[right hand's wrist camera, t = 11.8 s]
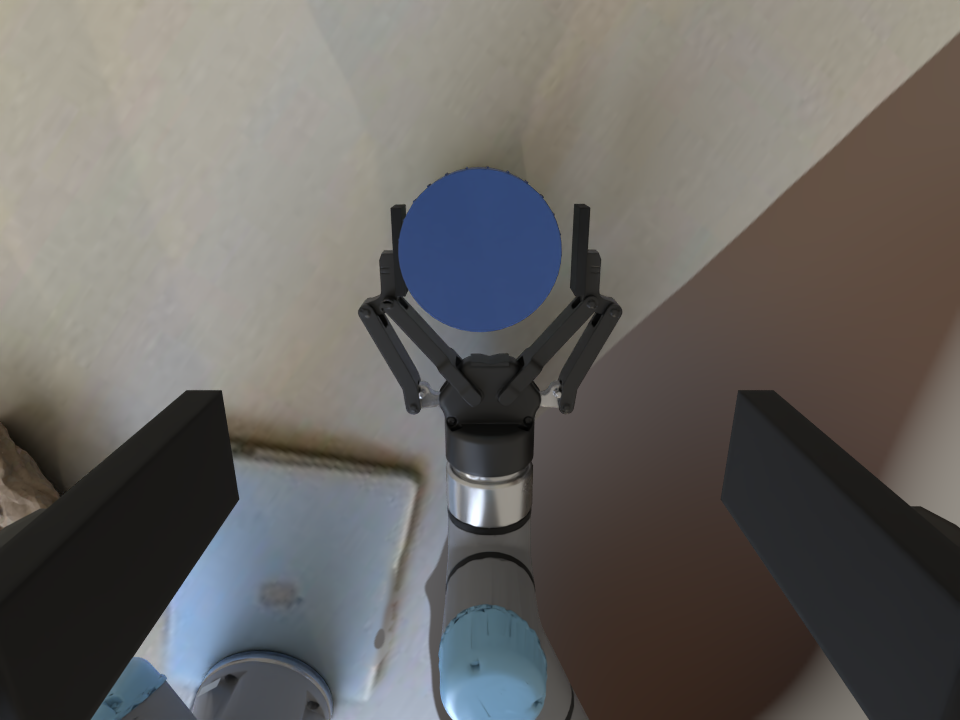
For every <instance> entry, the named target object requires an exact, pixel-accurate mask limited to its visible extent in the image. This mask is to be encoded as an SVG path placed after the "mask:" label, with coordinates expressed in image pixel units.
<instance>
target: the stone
mask: <svg viewBox="0 0 960 720" xmlns="http://www.w3.org/2000/svg"><path fill="white" fill-rule="evenodd" d="M59 498H60V496H59V493H58V492H57V491H56V490H55V489H54V487H53V485H52V483H50V482H49V481H48V480H47V479H46V478H45V476H44V475H43V474H42V473H41V471H40V469H39V467H38V465H37V464H36V462H35V461H34V460H33V458H32V457H31V456H30V455H29V454H28V452H26V451H24V450H23V449H21V448H20V447H18V446H17V445H15V443H14V442H13V441H12V440H11V438H10V437H9V434H8V430H7V429H6V427H5V426H4V425H3V424H2V423H1V422H0V531H1V530H2V529H3V528H4V527H6V526H8V525H10V524H12V523H14V522H15V521H17V520H19V519H21V518H23V517H25V516H27V515H29V514H31V513H32V512H34V511H36V510H38V509H47V508H48V507H49V506H51V505H52V504H53V503H54V502H55V501H56V500H58V499H59Z"/></svg>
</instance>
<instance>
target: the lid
mask: <svg viewBox="0 0 960 720" xmlns="http://www.w3.org/2000/svg"><path fill="white" fill-rule="evenodd" d="M427 187H428V188H427V189H426V190H425V191H423V192H422V193H421V194H420V195H419V197H418V198H417V199H415V200H414V201H413V204H412V206H411V208H410V209H409V211H408V213H407V215H406V217H405V218H404V219H403V221H404V222H403V225H402V228H401V232H400V237H399V240H398V241H399V263H400V268H401V272H402V276H403V279H404V281H405V283H406V286H407V288H408V289H409V291H410V293H411V295H412V296H413V297H414V299H415V300H416V301H417V303H418V304H419V305H420V306H421V307H422V308H423V309H424V310H425V311H426V312H427V313H428V314H430V315H431V316H432V317H434V318H435V319H437V320H439V321H440V322H442V323H444V324H446V325H448V326H451V327H454V328H457V329H460V330H465V331H471V332H488V331H495V330H500V329H503V328H506V327H509V326H512V325H514V324H516V323H518V322H520V321H522V320H523V319H525V318H526V317H528V316H529V315H530V314H532V313H533V312H534V311H535V310H536V309H537V308H538V307H539V306H540V305H541V304H542V303H543V302H544V300H545V299H546V297H547V296H548V295H549V293H550V291H551V289H552V288H553V286H554V284H555V281H556V278H557V276H558V273H559V268H560V264H561V256H562V249H561V238H560V235H561V234H560V232H559V228H558V225H557V222H556V219H555V217H554V215H555V214H554V213H553V212H552V211H551V209H550V208H549V206H548V205H547V203H546V201H545V200H544V199H543V198H544V197H543V196H542V195H541V194H539V193H538V192H537V191H535V190H534V189H533V188H532V187H531V186H530V185H529V184H528V182H527V181H526V180H525V181H523V180H522V179H520V178H519V177H517V176H515V175H513V174H511V173H510V172H509V171H506V172H505V171H502V170H499V169H494V168H489V167H488V166H487V168H486V167H474V168H468V167H466V168H465V169H462V170H457V171H455V172H452V173H450V174H448V173H446V174H445V176H443V177H442V178H440V179H438V180H437V181H435V182H434V183H433V184H429V185H428V186H427Z"/></svg>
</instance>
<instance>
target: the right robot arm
mask: <svg viewBox="0 0 960 720" xmlns="http://www.w3.org/2000/svg"><path fill="white" fill-rule="evenodd" d="M238 500H239V495H238V488H237V482H236V476H235V470H234V464H233V457H232V451H231V445H230V439H229V432H228V426H227V420H226V414H225V408H224V401H223V395H222V390H186V391H185V392H184V393H183V394H182V395H180V396H179V397H178V398H177V399H176V400H175V401H173V402H172V403H171V404H170V405H169V406H167V407H166V408H165V409H164V410H163V411H162V412H160V413H159V414H158V415H157V416H156V417H154V418H153V419H152V420H151V421H150V422H149V423H147V424H146V425H145V426H144V427H143V428H141V429H140V430H139V431H138V432H137V433H136V434H134V435H133V436H132V437H131V438H130V439H128V440H127V441H126V442H125V443H124V444H123V445H121V446H120V447H119V448H118V449H117V450H115V451H114V452H113V453H112V454H111V455H110V456H108V457H107V458H106V459H105V460H104V461H103V462H101V463H100V464H99V465H98V466H97V467H95V468H94V469H93V470H92V471H91V472H90V473H88V474H87V475H86V476H85V477H84V478H82V479H81V480H80V481H79V482H78V483H77V484H75V485H74V486H73V487H72V488H71V489H69V490H68V491H67V492H66V493H65V494H64V495H62V496H61V497H60V498H59V499H58V500H56V501H55V502H54V503H53V504H52V505H51V506H49V507H48V508H47V509H38V510H36V511H34V512H32V513H31V514H29V515H27V516H25V517H23V518H21V519H19V520H17V521H15V522H14V523H12V524H10V525H8V526H6V527H4V528H3V529H2V530H1V531H0V720H91V719H92V717H93V716H94V714H95V713H96V711H97V710H98V708H99V707H100V705H101V704H102V702H103V701H104V699H105V698H106V696H107V695H108V693H109V692H110V690H111V689H112V687H113V686H114V685H115V683H116V682H117V680H118V679H119V677H120V676H121V674H122V673H123V671H124V670H125V668H126V667H127V665H128V664H129V662H130V661H131V659H132V658H133V656H134V655H135V653H136V652H137V650H138V649H139V647H140V646H141V644H142V643H143V641H144V640H145V639H146V637H147V636H148V634H149V633H150V631H151V630H152V628H153V627H154V625H155V624H156V622H157V621H158V619H159V618H160V616H161V615H162V613H163V612H164V610H165V609H166V607H167V606H168V604H169V603H170V601H171V600H172V598H173V597H174V595H175V594H176V592H177V591H178V590H179V588H180V587H181V585H182V584H183V582H184V581H185V579H186V578H187V576H188V575H189V573H190V572H191V570H192V569H193V567H194V566H195V564H196V563H197V561H198V560H199V558H200V557H201V555H202V554H203V552H204V551H205V549H206V548H207V546H208V545H209V544H210V542H211V541H212V539H213V538H214V536H215V535H216V533H217V532H218V530H219V529H220V527H221V526H222V524H223V523H224V521H225V520H226V518H227V517H228V515H229V514H230V512H231V511H232V509H233V508H234V506H235V505H236V503H237V502H238ZM721 500H722V502H723V503H724V505H725V506H726V508H727V509H728V511H729V512H730V514H731V515H732V517H733V518H734V520H735V521H736V523H737V524H738V526H739V527H740V529H741V530H742V532H743V533H744V535H745V536H746V537H747V539H748V540H749V542H750V544H751V545H752V546H753V548H754V549H755V551H756V552H757V554H758V555H759V557H760V558H761V560H762V561H763V563H764V564H765V566H766V567H767V569H768V570H769V572H770V573H771V575H772V576H773V578H774V579H775V581H776V582H777V583H778V585H779V586H780V588H781V590H782V591H783V592H784V594H785V595H786V597H787V598H788V600H789V601H790V603H791V604H792V606H793V607H794V609H795V610H796V612H797V613H798V615H799V616H800V618H801V619H802V621H803V622H804V624H805V625H806V627H807V628H808V630H809V631H810V633H811V634H812V636H813V637H814V638H815V640H816V641H817V643H818V644H819V646H820V647H821V649H822V650H823V652H824V653H825V655H826V656H827V658H828V659H829V661H830V662H831V664H832V665H833V667H834V668H835V670H836V671H837V673H838V674H839V676H840V677H841V679H842V680H843V682H844V683H845V685H846V686H847V687H848V689H849V690H850V692H851V693H852V695H853V696H854V698H855V699H856V701H857V702H858V704H859V705H860V707H861V708H862V710H863V711H864V713H865V714H866V716H867V717H868V719H869V720H960V528H959V527H958V526H957V525H955V524H953V523H951V522H949V521H947V520H946V519H944V518H942V517H940V516H938V515H936V514H934V513H932V512H930V511H928V510H926V509H925V508H923V507H920V506H909V505H908V504H907V503H906V502H905V501H904V500H902V499H901V498H900V497H899V496H898V495H896V494H895V493H894V492H893V491H892V490H891V489H889V488H888V487H887V486H886V485H885V484H883V483H882V482H881V481H880V480H879V479H878V478H876V477H875V476H874V475H873V474H872V473H870V472H869V471H868V470H867V469H866V468H865V467H863V466H862V465H861V464H860V463H859V462H857V461H856V460H855V459H854V458H853V457H852V456H850V455H849V454H848V453H847V452H846V451H845V450H843V449H842V448H841V447H840V446H839V445H837V444H836V443H835V442H834V441H833V440H831V439H830V438H829V437H828V436H827V435H826V434H824V433H823V432H822V431H821V430H820V429H819V428H817V427H816V426H815V425H814V424H813V423H811V422H810V421H809V420H808V419H807V418H805V417H804V416H803V415H802V414H801V413H800V412H798V411H797V410H796V409H795V408H794V407H793V406H791V405H790V404H789V403H788V402H787V401H785V400H784V399H783V398H782V397H781V396H779V395H778V394H777V393H776V392H775V391H773V390H739V391H738V395H737V401H736V408H735V414H734V420H733V426H732V432H731V439H730V445H729V451H728V457H727V464H726V470H725V476H724V482H723V488H722V495H721Z"/></svg>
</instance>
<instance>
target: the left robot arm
mask: <svg viewBox="0 0 960 720" xmlns="http://www.w3.org/2000/svg"><path fill="white" fill-rule="evenodd" d="M405 217H406V205H394V206H393V207H392V208H391V224H392V243H393V250H384V252H383V253H382V254H381V257H380V260H379V262H380V279H381V294H380V295H378V296H376V297H373V298H367V299H366V300H365V301H364V303H363V304H362V305H361V307H360V308H359V310H358V314H359V317H360V318H361V320H362V322H363V323H364V325H365V327H366V329H367V330H368V332H369V334H370V335H371V337H372V339H373V340H374V342H375V344H376V345H377V347H378V349H379V350H380V352H381V354H382V356H383V357H384V359H385V361H386V362H387V364H388V366H389V367H390V369H391V371H392V372H393V374H394V376H395V377H396V379H397V381H398V382H399V384H400V386H401V388H402V389H403V394H404V399H405V405H406V409H407V411H408V412H409V413H410V414H417V413H419V412H420V410H421V408H428V407H438V406H440V407H441V409H442V410H443V412H444V415H445V440H446V458H447V460H448V462H447V466H446V481H447V504H448V564H447V577H446V600H445V609H444V618H443V628H442V637H441V642H440V646H439V647H440V649H439V655H438V656H439V659H440V661H439V671H440V693H441V699H442V702H443V705H444V707H445V709H446V711H447V713H448V714H449V716H450V717H451V718H452V719H453V720H589V719H588V717H587V715H586V713H585V711H584V709H583V708H582V706H581V704H580V702H579V700H578V698H577V696H576V694H575V692H574V690H573V688H572V687H571V685H570V683H569V680H568V678H567V676H566V674H565V672H564V670H563V668H562V666H561V664H560V662H559V660H558V658H557V656H556V654H555V652H554V650H553V648H552V646H551V644H550V642H549V640H548V638H547V636H546V634H545V632H544V630H543V628H542V625H541V623H540V619H539V615H538V609H537V602H536V596H535V585H534V577H533V569H532V561H531V506H532V484H533V465H532V462H531V461H532V459H533V450H534V418H535V414H536V411H537V409H538V408H539V406H543V407H553V408H559V410H560V412H561V413H563V414H569V413H571V412H572V411H573V409H574V404H575V398H576V393H577V389H578V387H579V385H580V384H581V382H582V380H583V379H584V377H585V375H586V374H587V372H588V370H589V369H590V367H591V365H592V364H593V362H594V360H595V359H596V357H597V355H598V354H599V352H600V350H601V349H602V347H603V345H604V344H605V342H606V340H607V339H608V337H609V335H610V334H611V332H612V330H613V328H614V327H615V325H616V323H617V322H618V320H619V318H620V317H621V315H622V309H621V307H620V306H619V305H618V303H617V302H616V301H615V300H614V299H613V298H611V297H606V296H603V295H601V294H600V293H599V284H600V269H601V268H600V267H601V258H600V255H599V253H598V252H597V251H596V250H588V237H589V220H590V207H588V206H587V205H585V204H574V219H573V239H572V260H571V280H570V288H571V290H572V292H573V293H574V295H575V296H576V297H575V299H574V300H573V301H572V302H571V303H570V304H569V305H568V306H567V307H566V308H565V309H564V311H563V312H562V313H561V314H560V315H559V316H558V317H557V318H556V319H555V320H554V321H553V322H552V324H551V325H550V326H549V327H548V328H547V329H546V330H545V331H544V332H543V333H542V334H541V336H540V337H539V338H538V339H537V340H536V341H535V342H534V343H533V344H532V345H531V346H530V347H529V348H527V349H526V350H525V351H524V352H523V353H522V354H521V355H520V356H519V357H518V358H517V359H515V358H513V357H511V356H509V355H508V354H496V355H492V356H487V355H483V354H471V356H469V357H466V358H464V359H462V358H461V357H460V356H459V355H458V354H457V353H456V352H455V351H454V350H453V349H452V348H450V347H449V346H448V345H447V344H446V343H445V342H444V341H443V340H442V339H441V338H440V337H439V336H438V335H437V333H436V332H435V331H434V330H433V329H432V328H431V327H430V326H429V325H428V324H427V323H426V321H425V320H424V319H423V318H422V317H421V316H420V315H419V314H418V313H417V312H416V311H415V310H414V308H413V307H412V306H411V305H410V304H409V303H408V302H407V301H406V300H405V299H404V298H403V296H406V294H407V292H408V290H409V289H408V288H407V286H406V283H405V281H404V279H403V276H402V272H401V268H400V263H399V241H398V240H399V237H400V232H401V228H402V225H403V222H404V221H403V219H404V218H405ZM594 312H595V313H594ZM385 313H387V314H388V315H389V316H390V317H391V319H392V320H393V321H394V322H395V323H396V324H397V325H398V326H399V327H400V328H401V329H402V330H403V331H404V332H405V333H406V335H407V336H408V337H409V338H410V339H411V340H412V341H413V342H414V343H415V344H416V345H417V346H418V347H419V348H420V349H421V350H422V352H423V353H424V354H425V355H426V356H427V357H428V358H429V359H430V360H431V361H432V362H433V363H434V364H435V365H436V367H437V368H438V371H439V372H440V373H441V375H442V376H443V377H444V378H445V379H446V380H447V381H446V382H445V383H444V385H443V386H442V387H441V389H440V391H434V390H433V389H432V388H431V387H430V385H429V383H428V382H426V381H421V379H420V376H419V373H418V371H417V369H416V367H415V365H414V363H413V362H412V360H411V358H410V357H409V355H408V353H407V351H406V350H405V348H404V346H403V344H402V343H401V341H400V339H399V338H398V336H397V334H396V332H395V331H394V329H393V327H392V325H391V324H390V322H389V320H388V318H387V317H386V315H385ZM593 313H594V315H593V317H592V319H591V320H590V322H589V324H588V325H587V327H586V329H585V331H584V332H583V334H582V336H581V338H580V339H579V341H578V343H577V344H576V346H575V348H574V350H573V351H572V353H571V355H570V357H569V358H568V360H567V362H566V363H565V365H564V367H563V369H562V371H561V373H560V376H559V379H558V381H553V382H551V384H550V385H549V387H548V389H546V390H545V391H540V390H539V388H538V387H537V385H536V384H535V383H534V381H533V380H534V379H535V378H536V377H537V376H538V374H539V373H540V372H541V371H542V368H543V366H544V365H545V364H546V363H547V362H548V361H549V360H550V359H551V358H552V357H553V356H554V354H555V353H556V352H557V351H558V350H559V349H560V348H561V347H562V346H563V345H564V344H565V343H566V342H567V341H568V340H569V338H570V337H571V336H572V335H573V334H574V333H575V332H576V331H577V330H578V329H579V328H580V327H581V326H582V325H583V324H584V323H585V321H586V320H587V319H588V318H589V317H590V316H591V315H592V314H593ZM166 679H167V678H166V676H165V675H163V674H160V673H159V672H158V671H157V670H156V669H155V668H154V667H153V666H152V665H151V664H150V663H149V662H148V661H147V660H145V659H143V658H140V657H133V658H132V659H131V661H130V662H129V664H128V665H127V667H126V668H125V670H124V671H123V673H122V674H121V676H120V677H119V679H118V680H117V682H116V683H115V685H114V686H113V687H112V689H111V690H110V692H109V693H108V695H107V696H106V698H105V699H104V701H103V702H102V704H101V705H100V707H99V708H98V710H97V711H96V713H95V714H94V716H93V717H92V719H91V720H331V716H332V712H333V699H332V695H331V692H330V690H329V688H328V686H327V684H326V682H325V681H324V680H323V678H322V677H321V676H320V675H319V674H318V673H317V672H316V671H315V670H314V669H312V668H311V667H310V666H308V665H307V664H305V663H303V662H302V661H300V660H298V659H296V658H293V657H291V656H288V655H285V654H281V653H276V652H270V651H247V652H242V653H238V654H234V655H232V656H229V657H227V658H225V659H223V660H221V661H220V662H218V663H217V664H215V665H214V666H213V667H212V668H211V669H210V670H209V672H208V673H207V674H206V676H205V678H204V680H203V682H202V684H201V686H200V688H199V690H198V692H197V695H196V699H195V702H194V708H193V714H192V712H191V711H190V710H189V709H188V707H187V706H186V705H185V704H184V702H183V701H182V700H181V699H180V697H179V696H178V695H177V694H176V692H175V691H174V690H173V689H172V688H171V686H170V685H169V684H168V683H167V681H166Z"/></svg>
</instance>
